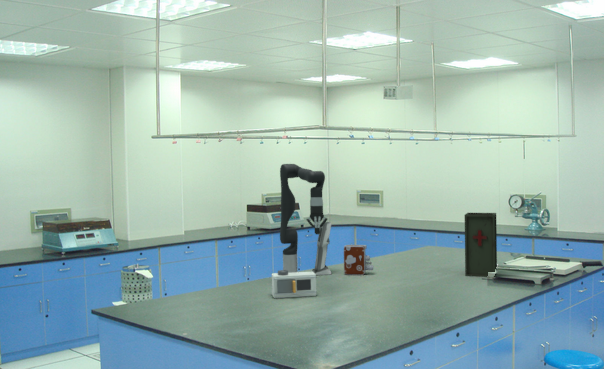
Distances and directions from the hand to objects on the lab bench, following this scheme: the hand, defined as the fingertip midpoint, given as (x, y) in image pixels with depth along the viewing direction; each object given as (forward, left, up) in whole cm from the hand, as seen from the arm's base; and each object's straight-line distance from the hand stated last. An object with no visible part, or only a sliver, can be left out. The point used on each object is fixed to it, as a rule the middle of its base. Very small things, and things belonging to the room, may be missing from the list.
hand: (317, 234), depth 330 cm
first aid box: (-21, +114, -33) cm, 121 cm away
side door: (+18, -21, -30) cm, 41 cm away
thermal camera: (-51, +12, -33) cm, 62 cm away
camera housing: (+10, -16, -33) cm, 38 cm away
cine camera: (-42, +36, -33) cm, 65 cm away
